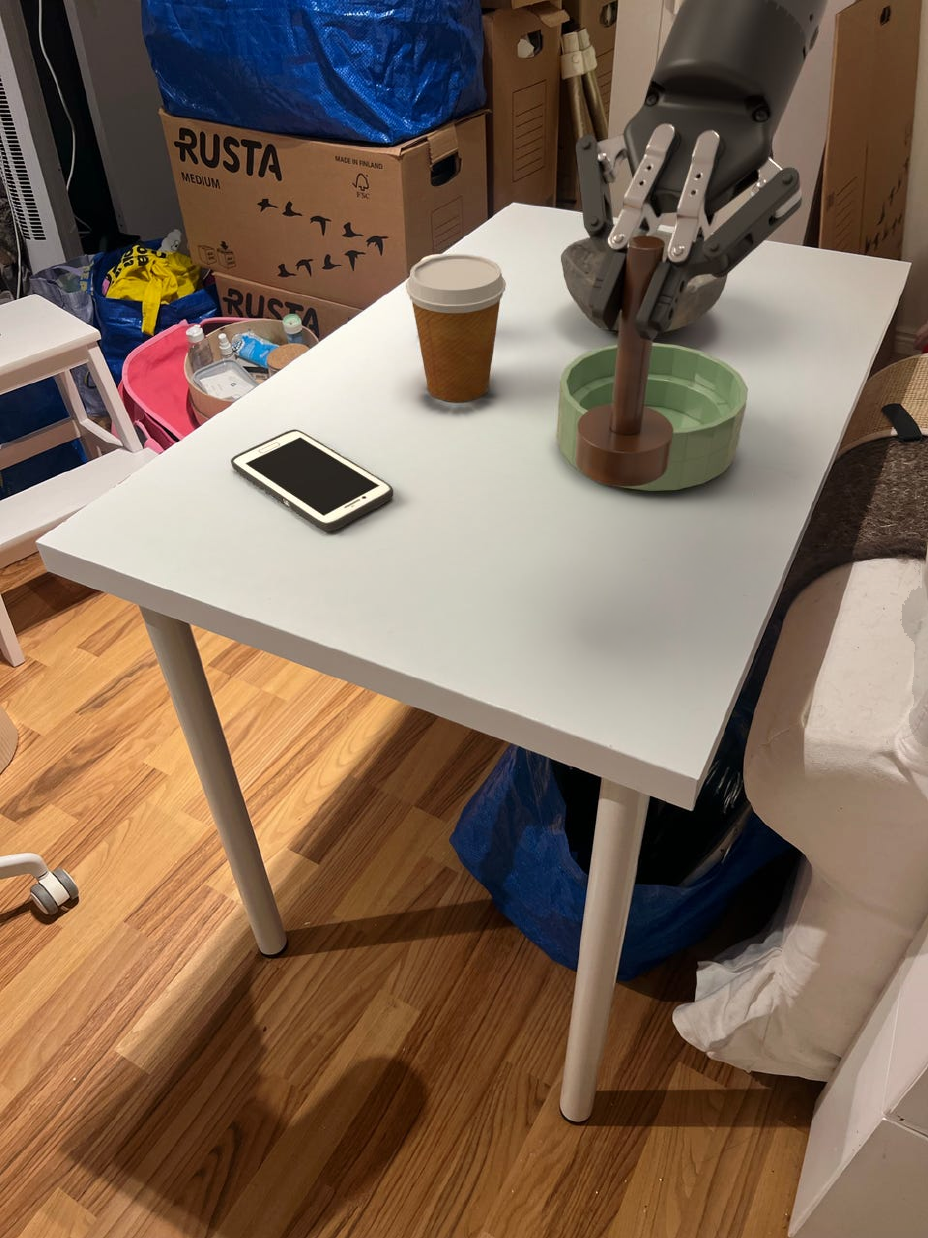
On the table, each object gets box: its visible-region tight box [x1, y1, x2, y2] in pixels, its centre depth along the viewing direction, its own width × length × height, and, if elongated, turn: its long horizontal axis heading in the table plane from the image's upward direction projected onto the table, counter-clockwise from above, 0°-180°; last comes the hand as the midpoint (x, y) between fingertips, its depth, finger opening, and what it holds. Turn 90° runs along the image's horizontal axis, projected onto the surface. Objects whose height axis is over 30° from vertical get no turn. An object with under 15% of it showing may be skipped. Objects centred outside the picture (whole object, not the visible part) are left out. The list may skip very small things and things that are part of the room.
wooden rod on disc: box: [575, 236, 673, 488], centre depth 54 cm, size 6×6×14 cm
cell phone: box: [230, 428, 394, 532], centre depth 81 cm, size 8×15×1 cm, turn 44°
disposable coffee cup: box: [405, 253, 507, 403], centre depth 90 cm, size 10×10×12 cm
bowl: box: [560, 229, 729, 333], centre depth 101 cm, size 18×18×8 cm
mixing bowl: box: [556, 342, 749, 492], centre depth 83 cm, size 16×16×6 cm
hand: (622, 327), depth 51 cm, fingers closed on wooden rod on disc
